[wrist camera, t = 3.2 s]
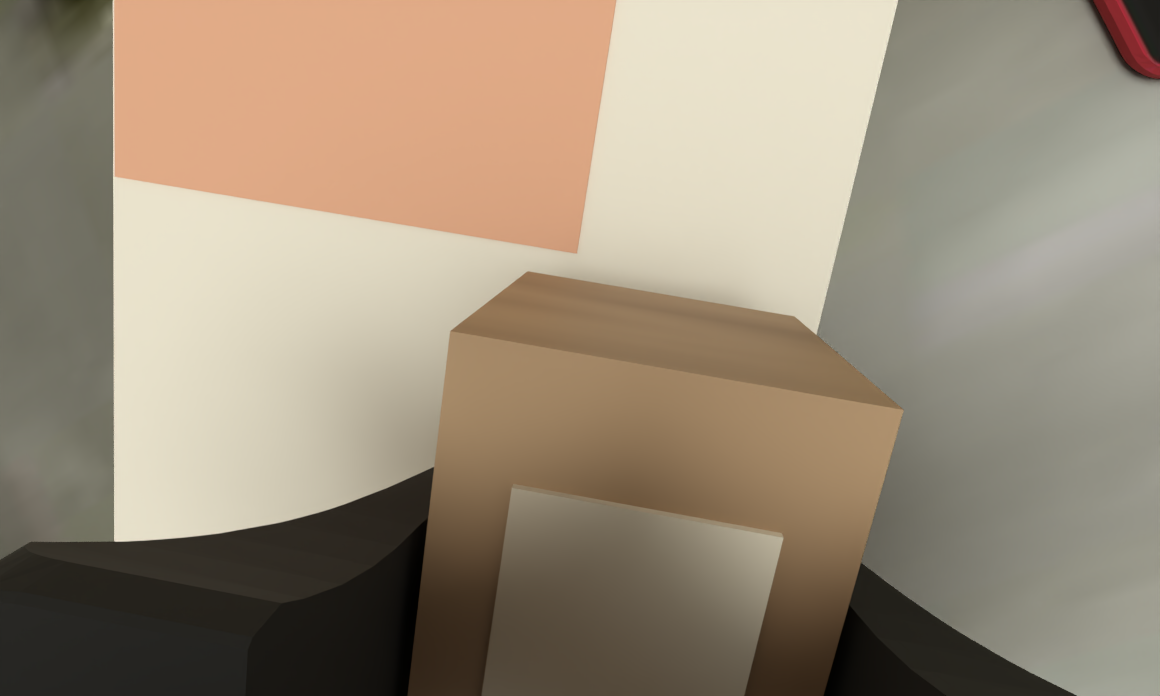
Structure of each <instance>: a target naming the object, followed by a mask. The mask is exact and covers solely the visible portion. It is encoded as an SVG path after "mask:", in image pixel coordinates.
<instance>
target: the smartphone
mask: <svg viewBox="0 0 1160 696" xmlns="http://www.w3.org/2000/svg"><path fill="white" fill-rule="evenodd" d="M1093 1H1094V3H1095V5H1096V7H1097V9H1098V11H1099V13H1100V15H1101V17H1102V19H1103V21H1104V23H1105V25H1106V27H1107V28H1108V30H1109V32H1110V34H1111V36H1112V38H1113V40H1114V42H1115V44H1116V46H1117V48H1118V50H1119V52H1120V54H1121V55H1122V57H1123V58H1124V60H1125V61H1126V63H1127V64H1128V65H1130V66H1131V67H1132V68H1133V69H1134V70H1136V71H1137V72H1139V73H1141V74H1143V75H1145V76H1148V77H1151V78H1157V79H1160V0H1093Z"/></svg>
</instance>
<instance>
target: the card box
mask: <svg viewBox="0 0 1160 696" xmlns="http://www.w3.org/2000/svg"><path fill="white" fill-rule="evenodd" d="M903 411H904V410H903V409H902V408H901V407H900V406H898V405H897V404H896V403H895V402H894V401H893V400H891V399H890V398H889V397H888V396H887V395H886V394H884V393H883V392H882V391H881V390H880V389H879V388H877V387H876V386H875V385H874V384H873V383H872V382H870V381H869V380H868V379H867V378H866V377H865V376H864V375H862V374H861V373H860V372H859V371H858V370H857V369H855V368H854V367H853V366H852V365H851V364H850V363H848V362H847V361H846V360H845V359H844V358H843V357H841V356H840V355H839V354H838V353H837V352H836V351H834V350H833V349H832V348H831V347H830V346H829V345H827V344H826V343H825V342H824V341H823V340H822V339H820V338H819V337H818V336H817V335H816V334H815V333H813V332H812V331H811V330H810V329H809V328H808V327H806V326H805V325H804V324H803V323H802V322H801V321H799V320H798V319H797V318H796V317H795V316H789V315H783V314H778V313H772V312H766V311H760V310H754V309H748V308H742V307H736V306H730V305H724V304H719V303H713V302H707V301H701V300H695V299H689V298H683V297H677V296H671V295H665V294H660V293H654V292H648V291H642V290H636V289H630V288H624V287H618V286H612V285H606V284H601V283H595V282H589V281H583V280H577V279H571V278H565V277H559V276H553V275H547V274H542V273H536V272H530V271H527V272H526V273H525V274H523V275H522V276H521V277H520V278H518V279H517V280H516V281H514V282H513V283H512V284H510V285H509V286H508V287H507V288H505V289H504V290H503V291H501V292H500V293H499V294H498V295H496V296H495V297H494V298H492V299H491V300H490V301H488V302H487V303H486V304H485V305H483V306H482V307H481V308H479V309H478V310H477V311H475V312H474V313H473V314H472V315H470V316H469V317H468V318H466V319H465V320H464V321H462V322H461V323H460V324H459V325H457V326H456V327H455V328H453V329H452V330H451V331H450V336H449V345H448V353H447V362H446V370H445V379H444V388H443V396H442V405H441V413H440V422H439V430H438V439H437V447H436V456H435V464H434V473H433V482H432V490H431V499H430V507H429V516H428V524H427V533H426V541H425V550H424V559H423V567H422V576H421V584H420V593H419V601H418V610H417V618H416V627H415V635H414V644H413V653H412V661H411V670H410V678H409V687H408V695H407V696H824V692H825V689H826V685H827V682H828V678H829V674H830V671H831V667H832V664H833V660H834V657H835V653H836V649H837V646H838V642H839V639H840V635H841V632H842V628H843V625H844V621H845V617H846V614H847V610H848V607H849V603H850V600H851V596H852V593H853V589H854V585H855V582H856V578H857V575H858V571H859V568H860V564H861V560H862V557H863V553H864V550H865V546H866V543H867V539H868V536H869V532H870V528H871V525H872V521H873V518H874V514H875V511H876V507H877V504H878V500H879V496H880V493H881V489H882V486H883V482H884V479H885V475H886V471H887V468H888V464H889V461H890V457H891V454H892V450H893V447H894V443H895V439H896V436H897V432H898V429H899V425H900V422H901V418H902V415H903Z"/></svg>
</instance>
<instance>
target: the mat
mask: <svg viewBox="0 0 1160 696" xmlns="http://www.w3.org/2000/svg"><path fill="white" fill-rule="evenodd" d="M897 3H898V0H113V206H114V542H125V541H145V540H159V539H172V538H184V537H193V536H202V535H211V534H218V533H225V532H230V531H236V530H241V529H247V528H253V527H258V526H264V525H270V524H275V523H280V522H284V521H289V520H293V519H296V518H300V517H304V516H308V515H311V514H315V513H319V512H322V511H325V510H329V509H332V508H335V507H338V506H341V505H344V504H347V503H349V502H352V501H354V500H357V499H360V498H362V497H365V496H367V495H370V494H373V493H375V492H378V491H380V490H383V489H386V488H388V487H390V486H393V485H395V484H397V483H399V482H402V481H404V480H406V479H408V478H410V477H413V476H415V475H417V474H419V473H421V472H424V471H426V470H428V469H430V468H432V467H434V464H435V456H436V447H437V439H438V430H439V422H440V413H441V405H442V396H443V388H444V379H445V370H446V362H447V353H448V345H449V336H450V331H451V330H452V329H453V328H455V327H456V326H457V325H459V324H460V323H461V322H462V321H464V320H465V319H466V318H468V317H469V316H470V315H472V314H473V313H474V312H475V311H477V310H478V309H479V308H481V307H482V306H483V305H485V304H486V303H487V302H488V301H490V300H491V299H492V298H494V297H495V296H496V295H498V294H499V293H500V292H501V291H503V290H504V289H505V288H507V287H508V286H509V285H510V284H512V283H513V282H514V281H516V280H517V279H518V278H520V277H521V276H522V275H523V274H525V273H526V272H527V271H530V272H536V273H542V274H547V275H553V276H559V277H565V278H571V279H577V280H583V281H589V282H595V283H601V284H606V285H612V286H618V287H624V288H630V289H636V290H642V291H648V292H654V293H660V294H665V295H671V296H677V297H683V298H689V299H695V300H701V301H707V302H713V303H719V304H724V305H730V306H736V307H742V308H748V309H754V310H760V311H766V312H772V313H778V314H783V315H789V316H795V317H796V318H797V319H798V320H799V321H801V322H802V323H803V324H804V325H805V326H806V327H808V328H809V329H810V330H811V331H812V332H813V333H815V334H816V335H817V330H818V326H819V322H820V318H821V314H822V310H823V306H824V302H825V298H826V294H827V289H828V285H829V281H830V277H831V273H832V269H833V265H834V261H835V257H836V253H837V248H838V244H839V240H840V236H841V232H842V228H843V224H844V220H845V216H846V212H847V207H848V203H849V199H850V195H851V191H852V187H853V183H854V179H855V175H856V171H857V167H858V162H859V158H860V154H861V150H862V146H863V142H864V138H865V134H866V130H867V126H868V121H869V117H870V113H871V109H872V105H873V101H874V97H875V93H876V89H877V85H878V80H879V76H880V72H881V68H882V64H883V60H884V56H885V52H886V48H887V44H888V39H889V35H890V31H891V27H892V23H893V19H894V15H895V11H896V7H897Z"/></svg>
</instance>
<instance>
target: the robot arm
mask: <svg viewBox="0 0 1160 696" xmlns="http://www.w3.org/2000/svg"><path fill="white" fill-rule="evenodd" d="M433 473H434V467H432V468H430V469H428V470H426V471H424V472H421V473H419V474H417V475H415V476H413V477H410V478H408V479H406V480H404V481H402V482H399V483H397V484H395V485H393V486H390V487H388V488H386V489H383V490H380V491H378V492H375V493H373V494H370V495H367V496H365V497H362V498H360V499H357V500H354V501H352V502H349V503H347V504H344V505H341V506H338V507H335V508H332V509H329V510H325V511H322V512H319V513H315V514H311V515H308V516H304V517H300V518H296V519H293V520H289V521H284V522H280V523H275V524H270V525H264V526H258V527H253V528H247V529H241V530H236V531H230V532H225V533H218V534H211V535H202V536H193V537H184V538H172V539H159V540H145V541H125V542H30V543H28V544H26V545H25V546H23V547H21V548H20V549H18V550H16V551H14V552H13V553H11V554H9V555H8V556H6V557H4V558H3V559H1V560H0V696H407V695H408V687H409V678H410V670H411V661H412V653H413V644H414V635H415V627H416V618H417V610H418V601H419V593H420V584H421V576H422V567H423V559H424V550H425V541H426V533H427V524H428V516H429V507H430V499H431V490H432V482H433ZM824 696H1076V695H1074V694H1072V693H1070V692H1068V691H1066V690H1064V689H1062V688H1060V687H1058V686H1056V685H1054V684H1052V683H1050V682H1048V681H1046V680H1044V679H1042V678H1040V677H1038V676H1036V675H1034V674H1032V673H1030V672H1028V671H1026V670H1024V669H1022V668H1021V667H1019V666H1017V665H1015V664H1013V663H1011V662H1009V661H1007V660H1006V659H1004V658H1002V657H1000V656H999V655H997V654H995V653H994V652H992V651H990V650H988V649H987V648H985V647H983V646H982V645H980V644H978V643H976V642H975V641H973V640H971V639H970V638H968V637H966V636H965V635H963V634H961V633H960V632H958V631H956V630H955V629H953V628H952V627H950V626H949V625H947V624H945V623H944V622H942V621H941V620H939V619H938V618H936V617H935V616H933V615H932V614H931V613H929V612H928V611H926V610H925V609H923V608H922V607H920V606H919V605H917V604H916V603H915V602H913V601H912V600H910V599H909V598H907V597H906V596H905V595H903V594H902V593H900V592H899V591H898V590H896V589H895V588H894V587H892V586H891V585H889V584H888V583H887V582H886V581H884V580H883V579H882V578H880V577H879V576H878V575H876V574H875V573H874V572H872V571H871V570H870V569H868V568H867V567H866V566H865V565H863V564H862V563H861V564H860V568H859V571H858V575H857V578H856V582H855V585H854V589H853V593H852V596H851V600H850V603H849V607H848V610H847V614H846V617H845V621H844V625H843V628H842V632H841V635H840V639H839V642H838V646H837V649H836V653H835V657H834V660H833V664H832V667H831V671H830V674H829V678H828V682H827V685H826V689H825V692H824Z"/></svg>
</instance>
